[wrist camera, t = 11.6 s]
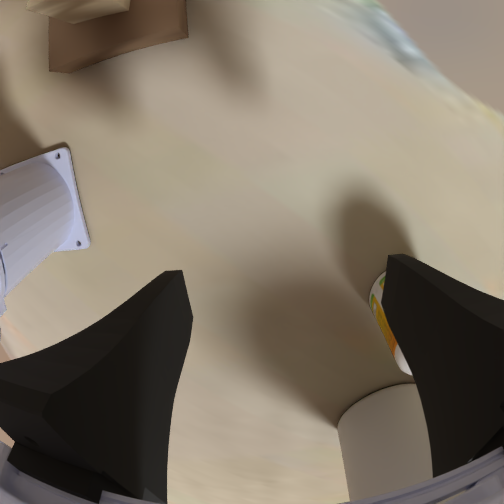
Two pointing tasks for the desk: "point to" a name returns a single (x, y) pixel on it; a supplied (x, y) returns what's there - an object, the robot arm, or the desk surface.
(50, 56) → the walnut block
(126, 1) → the maple block
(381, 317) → the supplement bottle
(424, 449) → the cylinder vase
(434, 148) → the desk surface
